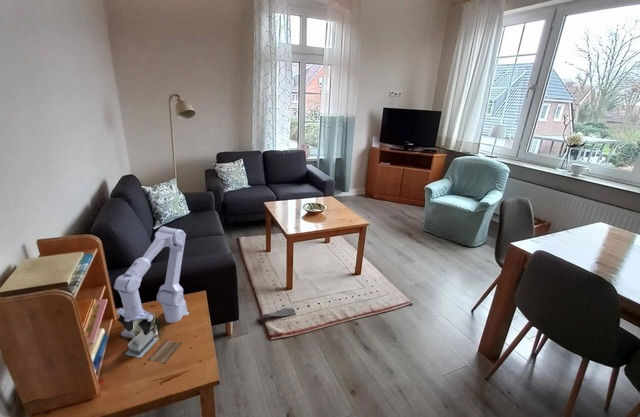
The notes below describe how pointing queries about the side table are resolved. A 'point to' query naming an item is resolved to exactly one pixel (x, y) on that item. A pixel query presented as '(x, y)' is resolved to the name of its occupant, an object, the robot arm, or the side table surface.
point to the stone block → (128, 333)
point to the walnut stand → (164, 351)
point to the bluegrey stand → (143, 351)
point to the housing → (141, 342)
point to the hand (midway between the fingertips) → (138, 331)
